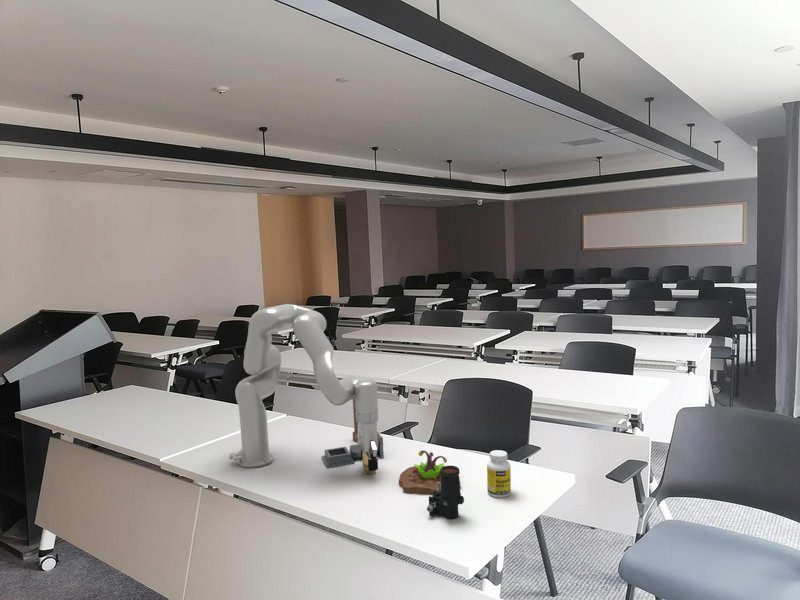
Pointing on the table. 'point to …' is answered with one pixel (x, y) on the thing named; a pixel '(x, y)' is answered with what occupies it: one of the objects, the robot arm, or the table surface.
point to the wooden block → (355, 422)
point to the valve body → (348, 454)
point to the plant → (422, 476)
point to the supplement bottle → (498, 474)
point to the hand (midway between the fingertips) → (369, 465)
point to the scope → (446, 494)
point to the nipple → (366, 465)
